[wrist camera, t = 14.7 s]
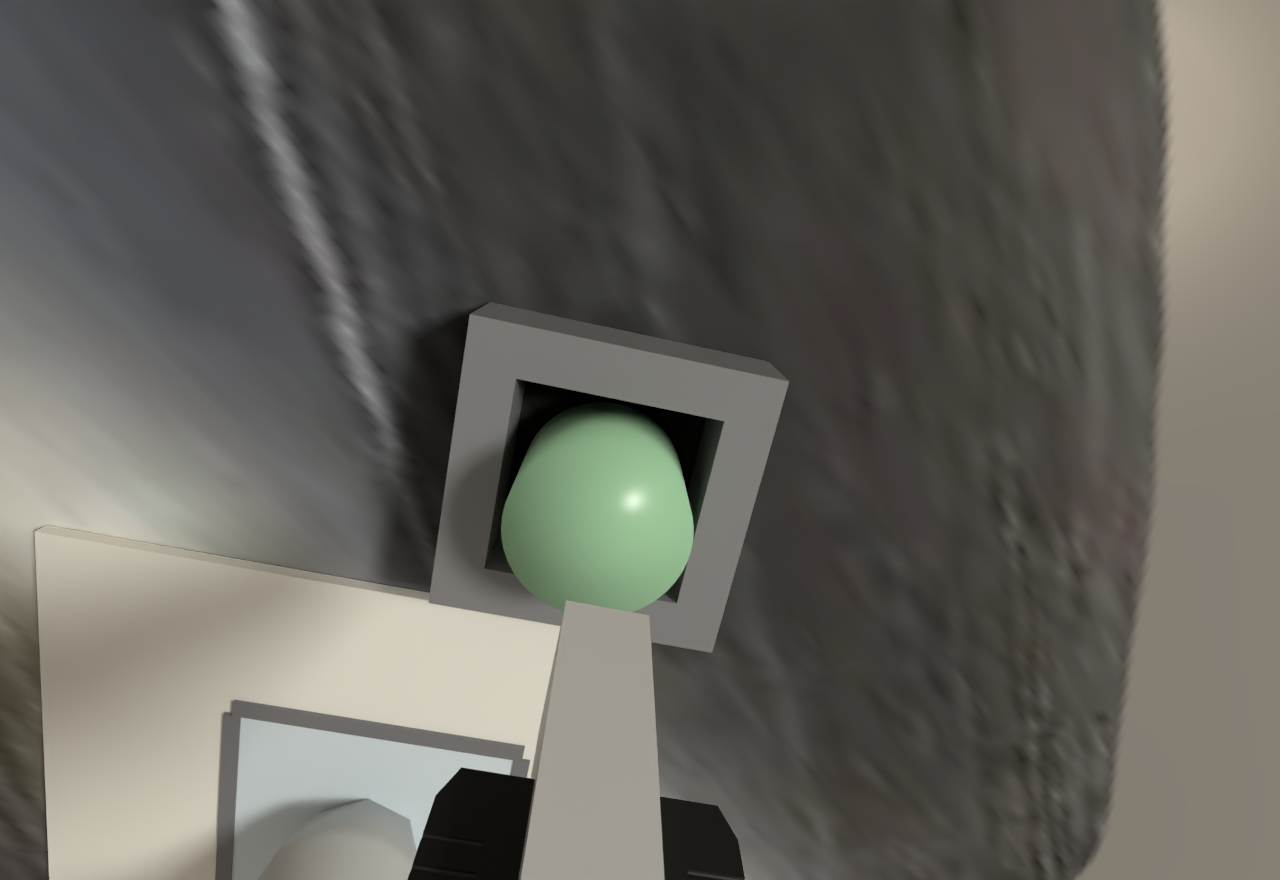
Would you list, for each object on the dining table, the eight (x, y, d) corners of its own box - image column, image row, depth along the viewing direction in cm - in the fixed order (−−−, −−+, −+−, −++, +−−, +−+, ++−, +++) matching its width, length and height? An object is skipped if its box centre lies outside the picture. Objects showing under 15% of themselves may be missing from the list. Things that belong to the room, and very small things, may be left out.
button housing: (451, 558, 24) (428, 602, 21) (490, 302, 22) (469, 313, 19) (701, 603, 25) (711, 652, 22) (767, 361, 22) (789, 381, 20)
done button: (510, 535, 22) (487, 600, 19) (537, 387, 21) (517, 423, 17) (662, 563, 23) (670, 632, 19) (697, 420, 21) (714, 462, 18)
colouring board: (59, 881, 28) (46, 896, 27) (46, 525, 23) (30, 533, 23) (548, 947, 30) (546, 963, 29) (625, 627, 25) (625, 637, 25)
